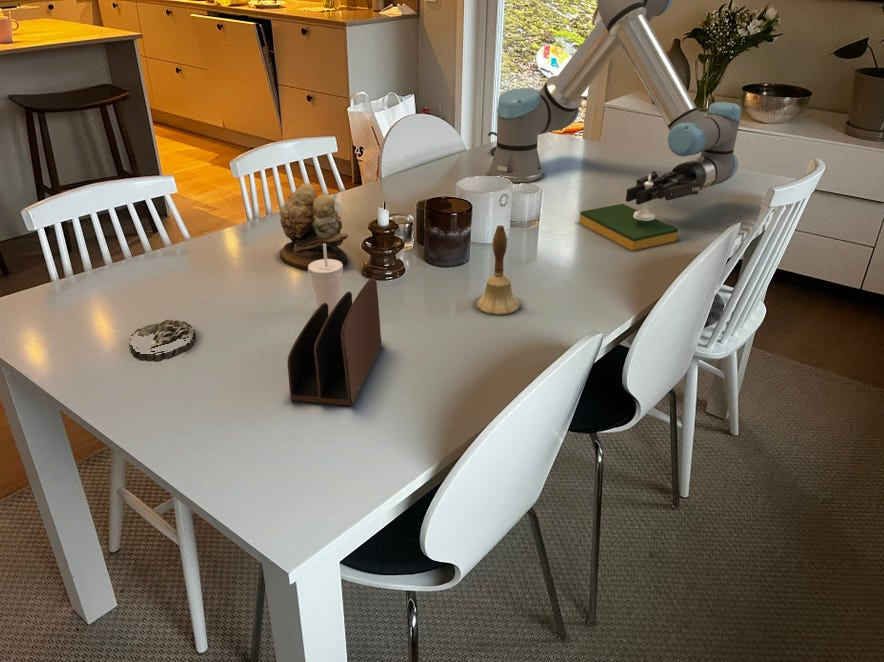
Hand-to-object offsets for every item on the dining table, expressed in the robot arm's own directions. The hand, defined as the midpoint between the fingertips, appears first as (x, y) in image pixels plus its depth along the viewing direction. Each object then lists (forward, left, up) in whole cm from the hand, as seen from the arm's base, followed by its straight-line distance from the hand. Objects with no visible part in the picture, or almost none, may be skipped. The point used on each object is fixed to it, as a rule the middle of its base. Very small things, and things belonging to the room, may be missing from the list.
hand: (632, 197), depth 167 cm
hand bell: (+15, -43, -11) cm, 47 cm away
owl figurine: (-23, -67, -11) cm, 72 cm away
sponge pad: (-5, +4, -11) cm, 13 cm away
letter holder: (+24, -79, -11) cm, 83 cm away
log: (+1, -103, -11) cm, 104 cm away
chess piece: (-1, +5, -6) cm, 8 cm away
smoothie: (+3, -73, -11) cm, 74 cm away
